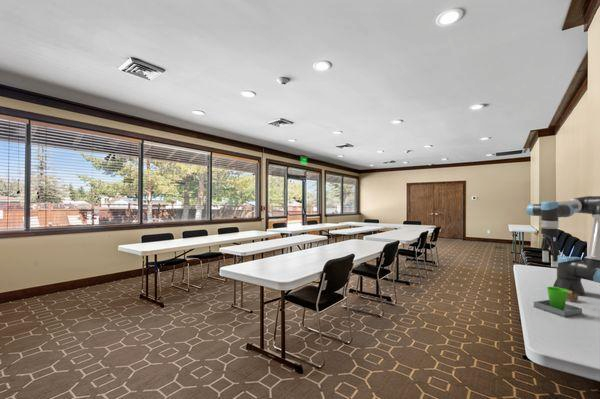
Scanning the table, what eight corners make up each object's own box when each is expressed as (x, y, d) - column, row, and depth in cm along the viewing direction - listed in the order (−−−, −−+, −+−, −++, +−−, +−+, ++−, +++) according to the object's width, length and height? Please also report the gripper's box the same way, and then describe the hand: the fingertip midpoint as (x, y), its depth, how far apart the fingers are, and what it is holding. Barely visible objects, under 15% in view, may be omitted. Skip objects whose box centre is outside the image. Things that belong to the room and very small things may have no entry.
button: (565, 293, 174) (565, 288, 174) (573, 295, 169) (573, 290, 169) (560, 293, 172) (560, 288, 172) (569, 296, 168) (569, 291, 168)
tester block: (563, 297, 175) (563, 290, 175) (577, 300, 169) (577, 294, 169) (556, 298, 173) (556, 291, 173) (570, 302, 166) (570, 295, 166)
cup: (573, 313, 147) (573, 292, 147) (553, 311, 149) (553, 291, 149) (560, 307, 156) (561, 287, 156) (541, 305, 158) (542, 285, 158)
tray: (550, 304, 161) (550, 299, 161) (582, 314, 148) (582, 308, 148) (533, 307, 157) (533, 301, 157) (564, 317, 143) (564, 311, 143)
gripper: (534, 225, 176) (534, 259, 176) (549, 229, 154) (549, 268, 154) (549, 226, 173) (549, 260, 173) (567, 230, 150) (567, 270, 150)
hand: (549, 264), depth 163 cm, fingers open, 13 cm apart
